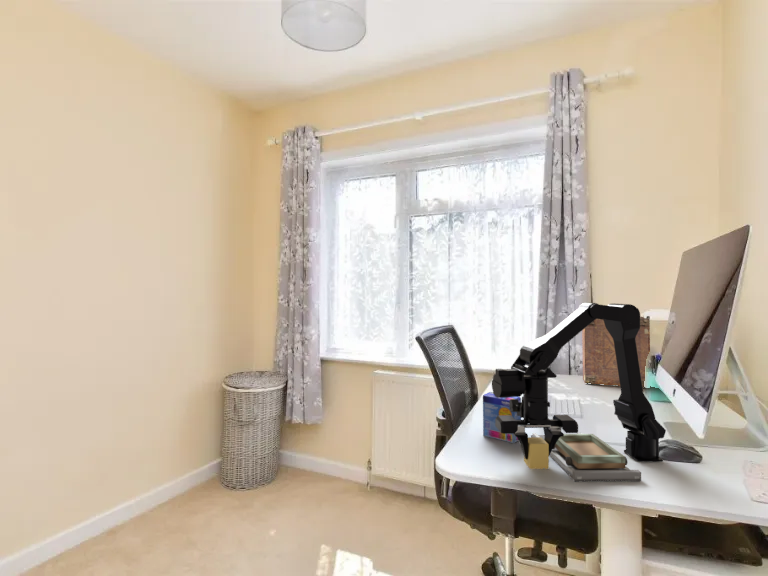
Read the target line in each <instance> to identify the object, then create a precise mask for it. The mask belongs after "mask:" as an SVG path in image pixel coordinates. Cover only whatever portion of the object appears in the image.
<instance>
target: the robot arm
mask: <svg viewBox="0 0 768 576" xmlns="http://www.w3.org/2000/svg"><path fill="white" fill-rule="evenodd" d="M640 317H641V313H640V310H639V308H638V307H636V305H634V304H630V303H629V304H628V303H609V304H607V305H605V304H599V303H596V302H583V303H581V304H579V306H578V308H576V310H574V311H573V312H572V313H571V314H569V315H568V316H567V317H566V318H565V319H564V320H562V321H560V323H558V324H557V325H556V326H555V327H554V328H553V329H551V330H550V331H549V332H547V333H546V334H544V335H542V336H539V337H537V338H534V339H532V340H531V341H528V342H527V343H525V344H524V345H522V347H521V348H520V349H519V355H518V356H517V357H516V358H515V361H514V362H513V363H512V365H511V366H510V368H495V373H494V375H493V377H492V380H491V387H492V392H493V393H494V395H495V396H496V397H497V398H499V397H520V398H521V402H519V401H518V399H510V403H509V407H510V412H517V416H520V417H521V420H515V419H514V418H513V417H512V416H511V415H498V416H497V417H496V419H495V426H496V427H497V429H498V430H499V431H500V432H501V433H504V434H514V435H515V436H516V437H517V438H518V442H519V444H520V448H521V451H522V454H523V458H524V457H525V459H528V437H529V435H528V433H527V432H526V428H527V429H530V428H531V429H532V428H533V429H535V428H536V429H541V428H543V432H544V434H543V435H545V438H544V440H545V441H546V442H547V443H548V444H549V455H550V453H551V451H552V449H553V447H554V445H555V444H556V442H557V441H558V439H559V438H560V437H561V436H564V434H577V433H579V424H578V422H577V421H576V420H575V419H574V418H572V417H571V416H570V415H568V414H553V416H552V419H551V418H549V408H550V407H551V402H550V401H549V382H548V381H549V379H554V378H555V379H556V378H557V377H558V376H557V374H556V373H555V372H553V371H552V370H551V368H550V366H551V365H552V364H553V363H554V362H555V360H556V359H557V358H558V355H559V353H560V351H561V349H562V348H564V346H565V345H567V344H568V343H569V342H571V340H572V339H574V338H575V337H576V336H577V335H579V334H580V333H582V330H583V329H585V328H586V327H587V326H588V325H589V324H590V323H592V322H593V321H594V320H595V319H602V320H603V321H604V324H605V327H606V329H607V330H608V332H609V333H610V335H611V336H612V338H613V340H614V347H615V354H616V360H617V367H618V374H619V381H620V387H619V388H620V395H619V397H618V399H613V405H614V415H616V416H617V419H618V421H620V422H621V425H622V428H623V429H626V430H627V434H626V437H625V449H624V450H623V452H624V454H626V455H627V456H629V457H631V458H632V459H633V460H634V461H636V462H639V463H642V462H643V463H644V462H647V463H648V462H649V463H650V462H654V463H656V462H664V459H663V458H662V457H660V455H659V454H660V445H659V444H660V442H659V441H660V439H664V437H665V434H666V431H667V430H666V429H665V427H663V426H662V425H661V424H660V422H659V421H657V419H656V416H655V413H654V408H653V407H652V406H653V405H652V404H651V402H650V401H649V400H648V398H647V396H646V395H645V393H644V388H643V387H642V380H641V374H640V367H639V360H638V353H637V346H636V335H637V333H638V331H639V329H640ZM527 366H528V367H527ZM522 395H523V396H522ZM522 418H523V419H522ZM562 430H563V431H564V433H563V432H562Z"/></svg>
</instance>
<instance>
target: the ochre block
mask: <svg viewBox="0 0 768 576" xmlns="http://www.w3.org/2000/svg"><path fill="white" fill-rule="evenodd" d="M549 457H550V456H549V444H548V443H547V442H546V441H545V440H544V439H543V438H542V437H531V436H528V459H525V457H524V456H523V462H524V463H525V465H526V466H527V468H529V469H530V470H549V469H548V468H550V463H549V462H550V458H549ZM543 468H545V469H543Z"/></svg>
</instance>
